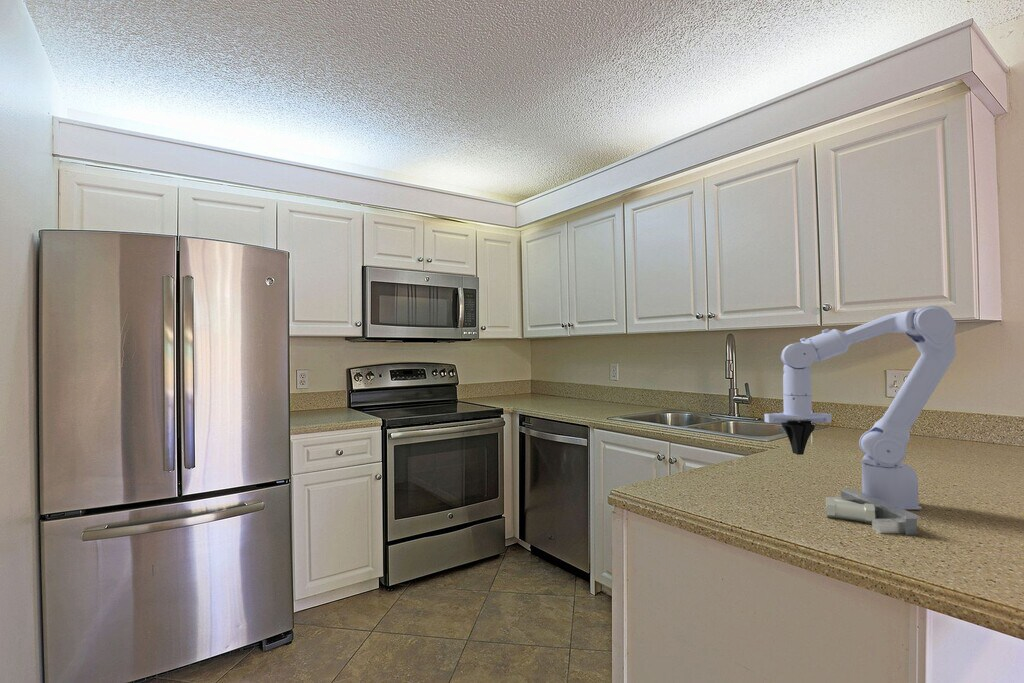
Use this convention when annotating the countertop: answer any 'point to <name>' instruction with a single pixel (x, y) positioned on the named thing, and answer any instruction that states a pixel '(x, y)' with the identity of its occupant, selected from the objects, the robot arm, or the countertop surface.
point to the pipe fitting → (849, 510)
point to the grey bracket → (884, 514)
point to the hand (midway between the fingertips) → (798, 453)
